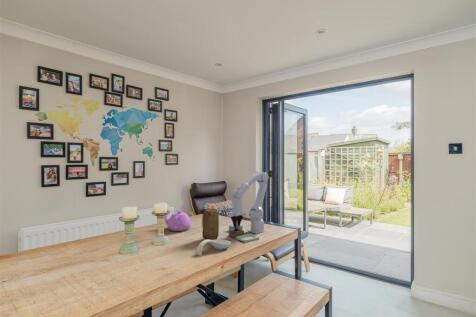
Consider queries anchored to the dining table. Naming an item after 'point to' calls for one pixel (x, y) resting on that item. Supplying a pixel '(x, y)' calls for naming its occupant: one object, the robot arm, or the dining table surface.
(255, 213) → the robot arm
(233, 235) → the walnut bore block
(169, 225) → the teapot
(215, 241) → the spoon rest
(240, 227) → the teal block
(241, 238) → the tray
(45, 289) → the dining table surface
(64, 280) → the dining table surface
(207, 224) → the block
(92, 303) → the dining table surface
